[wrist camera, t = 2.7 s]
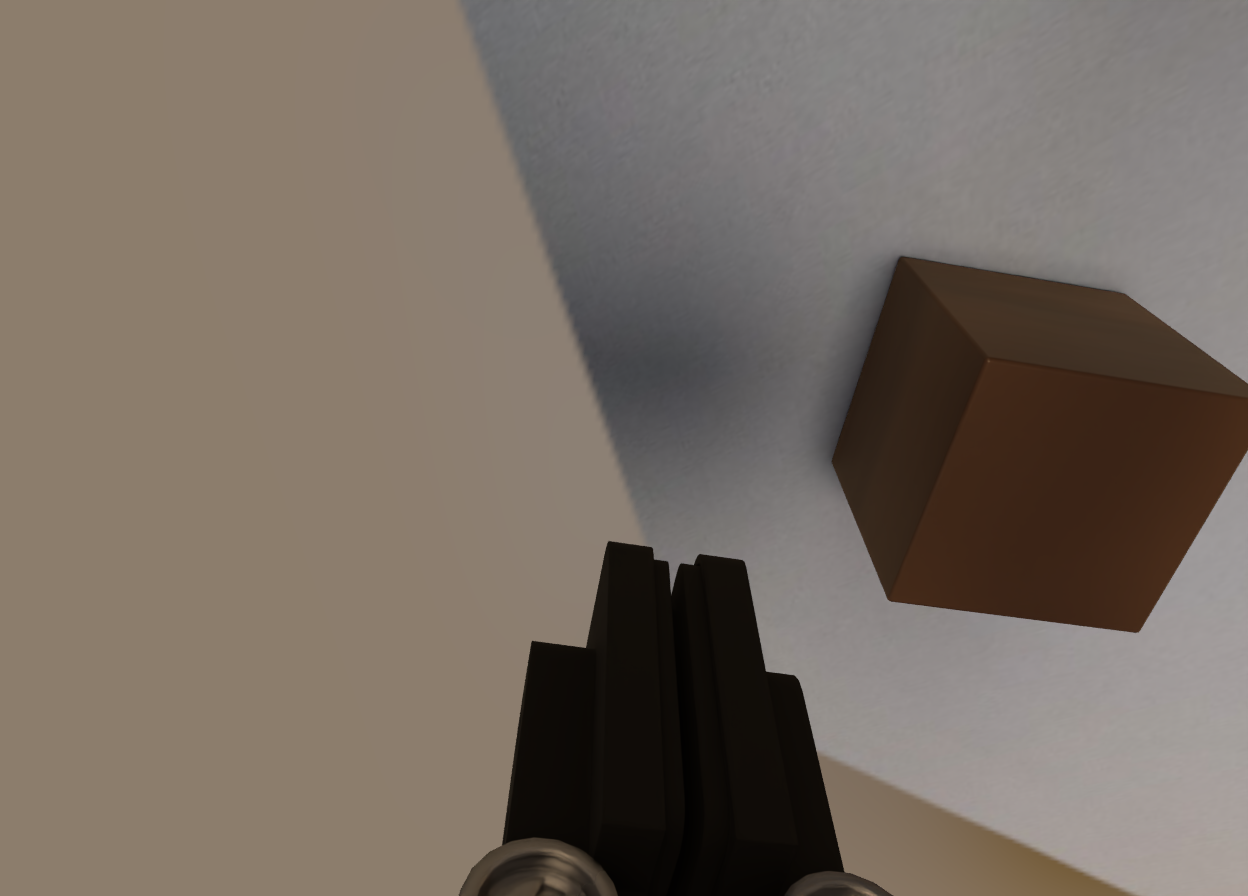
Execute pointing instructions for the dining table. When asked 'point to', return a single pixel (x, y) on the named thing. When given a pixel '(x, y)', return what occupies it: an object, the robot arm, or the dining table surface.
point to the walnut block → (1033, 447)
